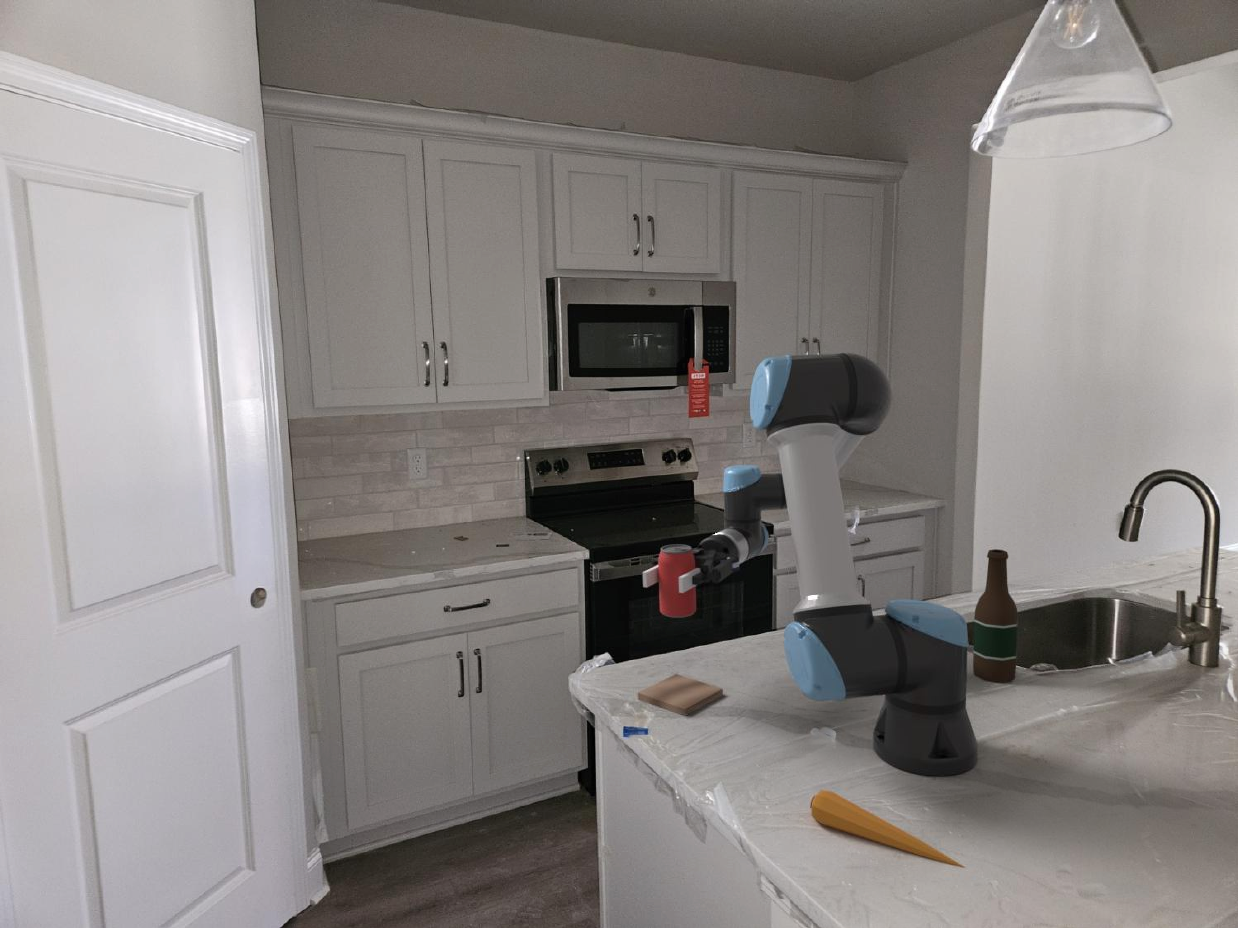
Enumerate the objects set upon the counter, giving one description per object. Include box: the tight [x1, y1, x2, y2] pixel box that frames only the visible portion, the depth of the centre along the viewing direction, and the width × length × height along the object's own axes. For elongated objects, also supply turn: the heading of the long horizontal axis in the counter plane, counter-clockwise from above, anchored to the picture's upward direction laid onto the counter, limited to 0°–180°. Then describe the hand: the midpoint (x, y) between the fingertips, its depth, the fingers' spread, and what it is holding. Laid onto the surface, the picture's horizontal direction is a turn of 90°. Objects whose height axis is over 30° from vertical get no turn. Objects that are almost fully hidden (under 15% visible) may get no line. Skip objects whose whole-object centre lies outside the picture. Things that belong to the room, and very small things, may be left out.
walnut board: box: [637, 673, 724, 716], centre depth 150 cm, size 11×11×1 cm
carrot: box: [809, 789, 966, 869], centre depth 105 cm, size 20×4×4 cm, turn 52°
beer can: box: [658, 543, 697, 619], centre depth 147 cm, size 7×7×12 cm
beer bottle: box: [972, 548, 1019, 684], centre depth 152 cm, size 8×8×24 cm
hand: (662, 582), depth 143 cm, fingers closed on beer can, 6 cm apart
